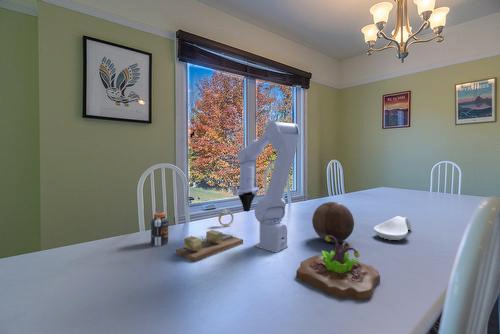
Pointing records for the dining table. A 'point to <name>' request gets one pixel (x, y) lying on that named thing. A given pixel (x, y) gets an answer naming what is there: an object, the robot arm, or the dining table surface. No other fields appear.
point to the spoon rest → (393, 228)
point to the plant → (339, 273)
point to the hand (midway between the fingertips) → (246, 211)
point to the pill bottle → (159, 229)
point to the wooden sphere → (333, 221)
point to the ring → (224, 213)
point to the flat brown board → (206, 247)
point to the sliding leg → (214, 236)
